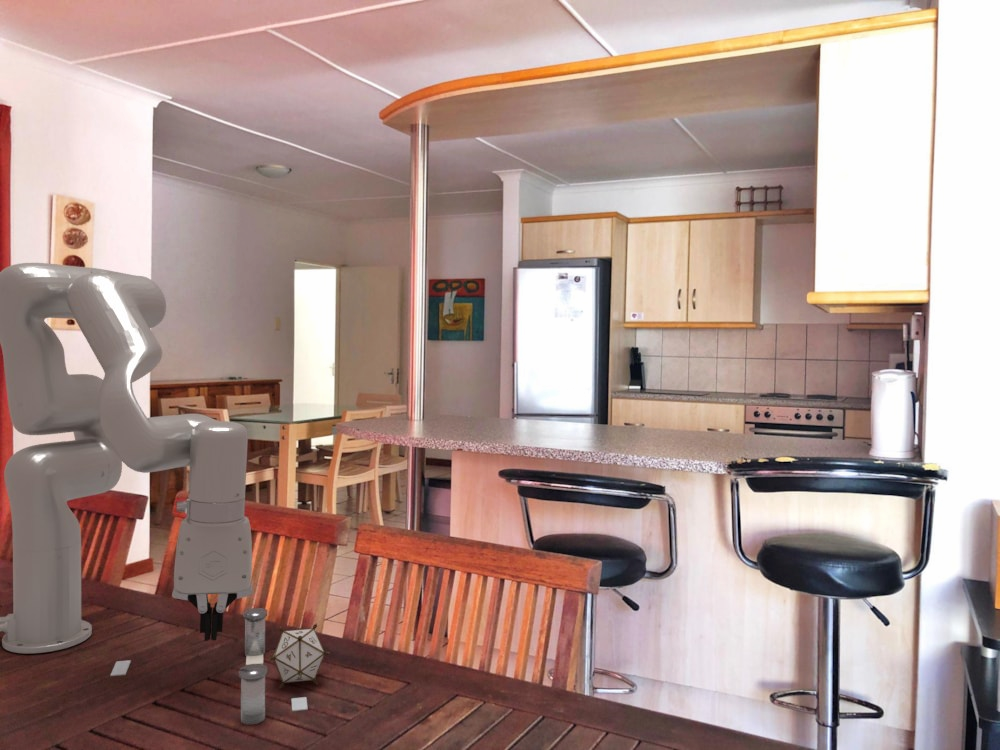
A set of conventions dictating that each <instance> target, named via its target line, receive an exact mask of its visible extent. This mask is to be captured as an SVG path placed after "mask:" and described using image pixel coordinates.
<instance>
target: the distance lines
mask: <svg viewBox="0 0 1000 750" xmlns="http://www.w3.org/2000/svg"><path fill="white" fill-rule="evenodd" d="M245 656H246V655H245ZM245 658H246V659H245V666H246V665H249V664H263V665H264V655H263V654H262V655H259V656H246V657H245ZM131 662H132V660H131V659H130V660H128V659H127V660H119V661H118V660H117V661H115V664H114V666H113V668H112V671H111V673H110V677H116V676H119V677H120V676H126V674H127V672H128V670H129V668H130V664H131ZM290 701H291V712H299V711H305V710H306V711H308V709H309V708H308V699H307V697H306V696H303V697H293V698H291V699H290Z"/></svg>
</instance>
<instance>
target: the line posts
mask: <svg viewBox="0 0 1000 750" xmlns="http://www.w3.org/2000/svg"><path fill="white" fill-rule="evenodd" d="M267 616H268V610H267V609H266V608H262V607H254V608H248V609H246V610H243V612H242V617H243V619H244V655H245V656H259V655H262V654H263V656H264V655H265V653H266V617H267ZM268 669H269V667H268V666H267V665H266V664H264V663H263V664H249V665H246V664H245V665H243V666H241V667H240V668H239V669H238V677H239V678H240V722H241V723H242V724H244V725H249V724H250V725H257V724H259V723H262V722H263V721H264V720H265V718H266V676H267V675H268V672H269V671H268ZM250 725H249V726H250Z"/></svg>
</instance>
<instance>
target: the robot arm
mask: <svg viewBox="0 0 1000 750" xmlns="http://www.w3.org/2000/svg"><path fill="white" fill-rule="evenodd" d="M166 312H167V301H166V297H165V294H164V292H163V290H162V289H161V287H160V286H159V285H158V284H157V283H156V282H155V281H153V279H150V278H148V277H146V276H144V275H136V274H129V273H126V272H125V273H124V272H118V271H112V270H108V269H102V268H98V267H97V268H96V267H87V266H77V265H67V264H56V263H47V262H22V263H16V264H11V265H10V266H7V267H5V268H4V269H2V270H1V271H0V348H1V351H2V355H3V356H2V357H3V368H4V369H3V370H4V378H5V379H4V380H5V387H6V394H7V405H8V413H9V417H10V421H11V424H12V426H13V427H14V429H15V430H16V431H17V432H19V433H20V434H22V435H27V436H47V435H57V434H66V433H73V437H74V439H73V440H63V441H62V440H61V441H56V442H48V443H40V444H39V443H38V444H34V445H30V446H27V447H24V448H22V449H19V450H18V451H16V452H14V453H13V454H12V455H11V456H10V457H9V459H8V460H7V462H6V464H5V467H4V473H3V474H4V484H5V489H6V492H7V497H8V501H9V508H10V515H11V526H12V527H11V529H12V587H13V588H12V589H13V590H12V591H13V593H12V599H13V600H12V602H13V605H12V606H13V607H12V608H13V610H12V611H13V613H7V615H6V616H0V633H2V632H4V635H3V637H2V639H1V646H2V648H3V649H4V650H6V651H8V652H11V653H16V654H24V655H26V654H27V655H28V654H42V653H43V654H44V653H49V652H56V651H60V650H65V649H69V648H70V647H74V646H77V645H79V644H81V643H83V642H84V641H86V640H87V639H88V638H90V637H91V635H92V634H93V626H92V624H91V623H90V622H89V621H87V620H83V619H82V531H81V525H80V521H79V520H78V518H77V517H76V515H75V514H74V512H73V511H72V510H71V509H70V507H69V505H68V502H69V501H71V500H72V501H73V500H75V499H81V498H86V497H91V496H95V495H100V494H104V493H107V492H109V491H110V490H112V489H114V488H115V487H116V486H117V484H118V482H119V481H120V479H121V476H122V472H123V471H122V470H123V464H124V465H126V466H127V467H128V468H129V469H131V470H132V471H135V472H138V473H144V474H145V473H146V474H148V473H153V472H154V473H156V472H160V471H167V470H171V469H175V468H176V469H177V468H178V469H179V468H183V467H189V475H188V498H186V500H183V501H177V502H176V512H181V513H184V514H185V515H186V517H185V518H183V519H182V520H181V523H180V526H179V529H178V536H177V540H176V541H177V542H176V549H175V561H174V570H173V571H174V572H173V575H174V576H173V590H172V594H171V597H172V598H174V599H179V600H182V601H188V602H189V603H190V604H191V605H193V607H195V609H197V610H198V613H200V618H199V634H203V633H204V642H208V641H210V640H212V641H217V638H218V633H222V632H223V628H224V627H223V624H224V612H225V611H226V609H227V608H228V607H230V605H231V604H232V603H234V601H235V600H237V599H238V600H239V599H243V598H247V597H250V596H251V595H253V586H252V574H253V573H252V571H253V565H252V564H253V556H252V555H253V549H252V548H253V543H252V532H251V531H252V530H251V529H252V528H251V524H250V520H249V519H250V518H249V517H248V516H245V506H246V483H247V482H246V481H247V480H246V479H247V462H248V460H247V459H248V444H249V443H248V438H249V437H248V429H247V428H246V427H245V426H244V425H243V424H241V423H239V422H235V421H225V420H217V419H215V418H212V417H210V416H207V415H205V414H201V413H185V414H171V415H161V416H151V417H147V416H146V414H145V412H144V410H143V409H142V408H141V405H140V404H139V402H138V400H137V399H136V396H135V394H134V389H133V383H135V382H136V381H139V380H140V379H142V378H143V377H145V376H146V375H148V374H149V373H151V372H152V371H153V370H154V369H156V367H157V365H159V364H160V362H161V360H162V358H163V349H162V347H161V345H160V342H159V341H158V340H157V338H156V336H155V335H154V332H153V331H152V330H151V328H155V327H156V326H158V325H160V324H161V322H163V319H164V317H165V316H166ZM49 318H51V319H74V320H75V321H76V323H77V325H78V327H79V330H81V332H82V334H83V336H84V338H85V340H86V341H87V343H88V345H89V347H90V349H91V351H92V352H93V354H94V356H95V358H96V359H97V361H98V363H99V365H100V366H101V368H102V370H103V372H104V377H103V379H102V378H101V377H99V376H97V375H93V374H87V373H77V374H74V373H73V374H69V373H68V370H67V367H66V366H67V365H66V357H65V356H66V355H65V349H64V346H63V343H62V342H61V340H60V339H59V336H58V335H57V333H56V332H55V331H54V330H53V328H52V327H50V326H49V325H48V323H47V322H46V321H45V319H49ZM209 595H218V596H217V601H216V602H215V603H214V607H211V603H210V601H209Z"/></svg>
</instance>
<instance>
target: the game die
mask: <svg viewBox="0 0 1000 750" xmlns="http://www.w3.org/2000/svg"><path fill="white" fill-rule="evenodd" d="M317 627H318V624H317V623H315V624H313V626H312V628H301V629H288V630H284V628H283V626H281V625H279V629H278V630H279V631H280V632H281V634H280V637H279V639H278V641H277V645H276V647H275V649H274V652H273V655H269V656H268V657H267V659H269V660H270V661H273V662H274V665H275V667H276V670H277V672H278V675H279V677H280V680H281V682H280V684H279V689H282V688H283V687H284V686H285V685H284V684H287V683H296V682H297V683H299V682H309V681H313V683H314V684H315V685H317V686H318V684H319V683H318V682H319V681H318V679H316V678H317V676H318V673H319V670H320V667H321V665H322V662H323V661H324V660H323V659H324V658H325V656H328V655H330V654H331V652H330V651H329V650H324V647H323V645H322V643H321V641H320V639H319V637H318V633H317V631H316V629H317Z"/></svg>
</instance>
